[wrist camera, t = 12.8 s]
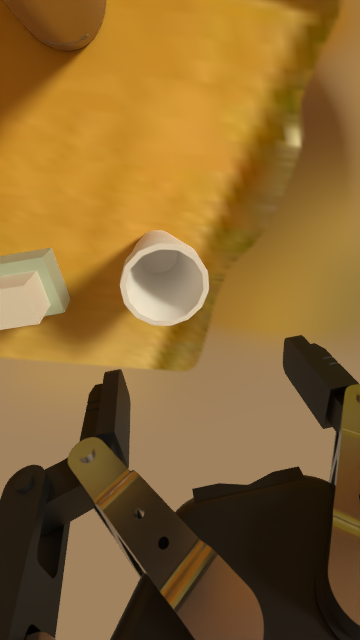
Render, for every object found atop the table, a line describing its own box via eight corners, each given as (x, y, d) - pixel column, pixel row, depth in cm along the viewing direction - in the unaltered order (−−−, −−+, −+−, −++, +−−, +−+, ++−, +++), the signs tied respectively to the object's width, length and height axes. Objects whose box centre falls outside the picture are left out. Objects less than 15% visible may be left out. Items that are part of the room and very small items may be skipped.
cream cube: (-4, 276, 36) (-23, 292, 31) (36, 270, 36) (23, 285, 32) (13, 310, 38) (-3, 330, 34) (50, 305, 39) (39, 323, 34)
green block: (-7, 257, 39) (-23, 268, 35) (52, 247, 39) (42, 257, 35) (18, 308, 43) (6, 322, 39) (71, 298, 43) (64, 312, 39)
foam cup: (140, 290, 44) (141, 336, 33) (113, 233, 39) (103, 264, 28) (197, 268, 43) (219, 307, 32) (177, 208, 39) (194, 229, 27)
